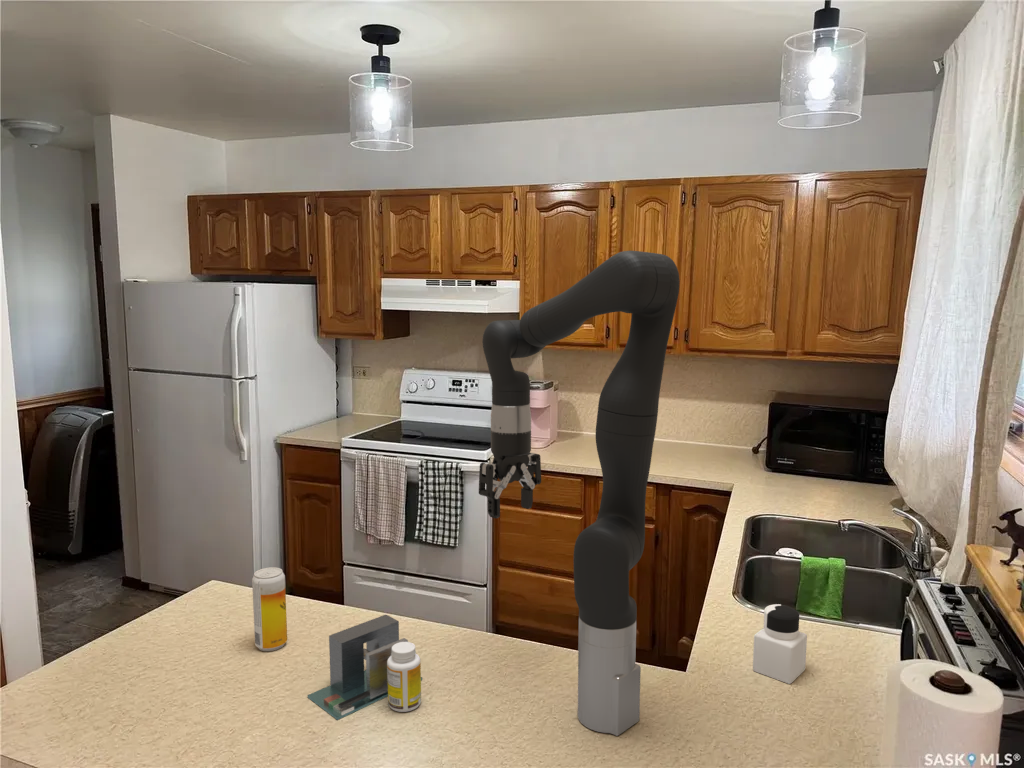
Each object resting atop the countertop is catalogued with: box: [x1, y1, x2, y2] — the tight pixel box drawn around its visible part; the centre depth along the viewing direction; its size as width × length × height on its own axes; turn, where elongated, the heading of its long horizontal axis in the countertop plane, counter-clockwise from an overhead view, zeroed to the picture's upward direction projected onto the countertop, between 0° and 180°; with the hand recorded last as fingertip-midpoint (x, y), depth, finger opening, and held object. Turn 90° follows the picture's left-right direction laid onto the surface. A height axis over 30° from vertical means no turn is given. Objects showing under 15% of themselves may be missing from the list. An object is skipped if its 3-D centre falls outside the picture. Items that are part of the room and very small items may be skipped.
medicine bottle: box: [752, 603, 808, 685], centre depth 132 cm, size 7×7×12 cm
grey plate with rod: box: [338, 637, 409, 709], centre depth 125 cm, size 8×14×8 cm, turn 135°
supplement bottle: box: [387, 641, 422, 713], centre depth 121 cm, size 6×6×10 cm
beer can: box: [251, 566, 288, 652], centre depth 142 cm, size 6×6×15 cm
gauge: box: [306, 614, 423, 721], centre depth 126 cm, size 10×18×10 cm, turn 135°
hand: (510, 512), depth 136 cm, fingers open, 8 cm apart
